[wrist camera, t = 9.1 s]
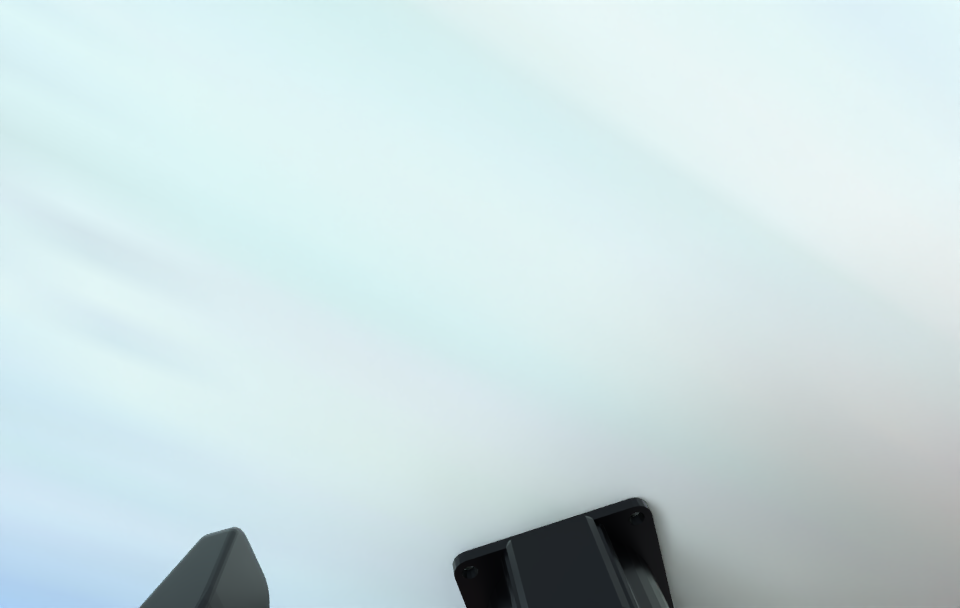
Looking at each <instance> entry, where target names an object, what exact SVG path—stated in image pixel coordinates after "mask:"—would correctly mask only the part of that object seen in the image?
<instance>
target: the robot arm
mask: <svg viewBox="0 0 960 608" xmlns="http://www.w3.org/2000/svg"><path fill="white" fill-rule="evenodd" d="M635 512H639V514H638V515H636V516H634V517H630V516H631V515H632V514H633V513H635ZM469 566H473V567H474V568H472V569H470V570H465V569H464V568H466V567H469ZM453 570H454V576H455V580H456V582H457V585H458V587H459V590H460V592H461V595H462V597H463V600H464V602H465V605H466V607H467V608H674V607H673V603H672V599H671V594H670V590H669V586H668V581H667V577H666V573H665V568H664V564H663V560H662V555H661V551H660V547H659V543H658V538H657V534H656V530H655V525H654V521H653V517H652V513H651V511H650V509H649V507H648V506H647V504H646V502H645V501H644V500H642V499H640V498H631V499H627V500H624V501H621V502H618V503H615V504H612V505H608V506H605V507H602V508H599V509H596V510H593V511H590V512H587V513H584V514H581V515H577V516H574V517H571V518H568V519H565V520H562V521H559V522H556V523H553V524H550V525H547V526H543V527H540V528H537V529H534V530H531V531H528V532H525V533H522V534H519V535H516V536H512V537H509V538H506V539H503V540H500V541H497V542H494V543H491V544H488V545H485V546H481V547H478V548H475V549H472V550H469V551H466V552H463V553H461V554H459V555H458V556H457V557H456V558H455V559H454V562H453ZM139 608H269V590H268V585H267V582H266V578H265V576H264V574H263V572H262V569H261V567H260V565H259V563H258V561H257V559H256V556H255V554H254V552H253V550H252V548H251V546H250V543H249V541H248V539H247V537H246V535H245V534H244V532H243V531H242V530H241V529H239V528H237V527H232V528H228V529H225V530H221V531H218V532H214V533H210V534H207V535H205V536H203V537H202V538H201V539H200V540H199V541H198V542H197V543H196V545H195V546H194V547H193V548H192V549H191V550H190V551H189V552H188V554H187V555H186V556H185V557H184V558H183V559H182V560H181V561H180V562H179V564H178V565H177V566H176V567H175V568H174V569H173V570H172V571H171V573H170V574H169V575H168V576H167V577H166V578H165V579H164V580H163V582H162V583H161V584H160V585H159V586H158V587H157V588H156V589H155V591H154V592H153V593H152V594H151V595H150V596H149V597H148V598H147V600H146V601H145V602H144V603H143V604H142V605H141V606H140V607H139Z"/></svg>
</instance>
